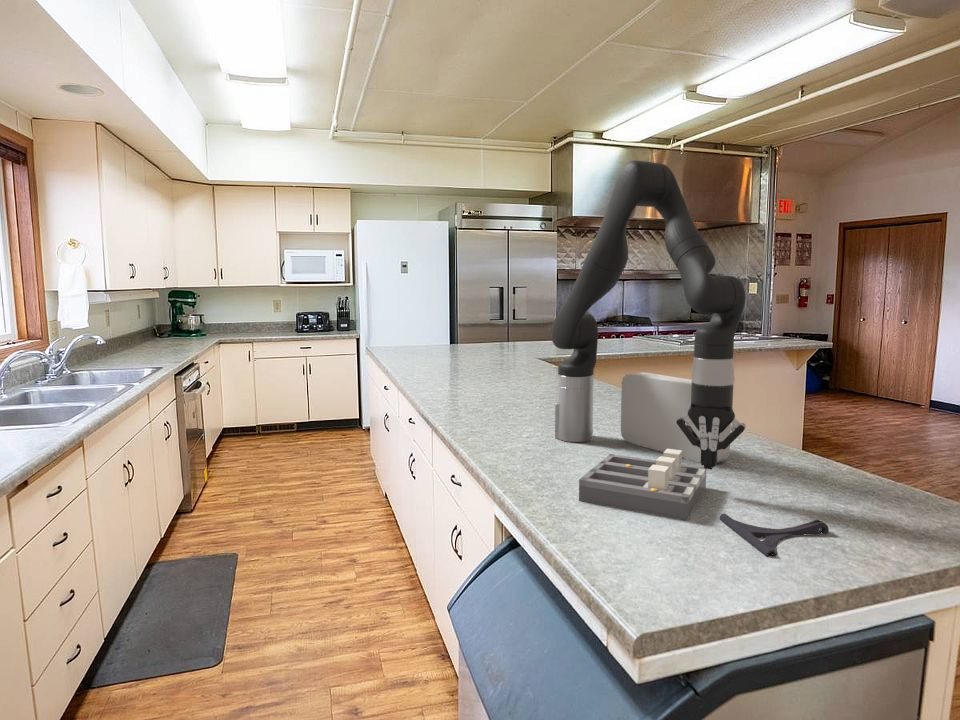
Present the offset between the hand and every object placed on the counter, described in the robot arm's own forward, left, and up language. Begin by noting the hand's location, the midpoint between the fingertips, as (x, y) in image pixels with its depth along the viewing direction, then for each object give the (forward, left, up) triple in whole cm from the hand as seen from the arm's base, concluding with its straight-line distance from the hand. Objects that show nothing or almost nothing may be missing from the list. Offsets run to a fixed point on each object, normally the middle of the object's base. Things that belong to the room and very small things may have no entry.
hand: (708, 467), depth 117 cm
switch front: (-7, -12, -2) cm, 14 cm away
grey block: (-13, +27, -6) cm, 30 cm away
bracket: (+14, -14, -6) cm, 21 cm away
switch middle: (-7, -6, -2) cm, 9 cm away
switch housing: (-11, -6, -5) cm, 13 cm away
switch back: (-7, 0, -2) cm, 7 cm away
